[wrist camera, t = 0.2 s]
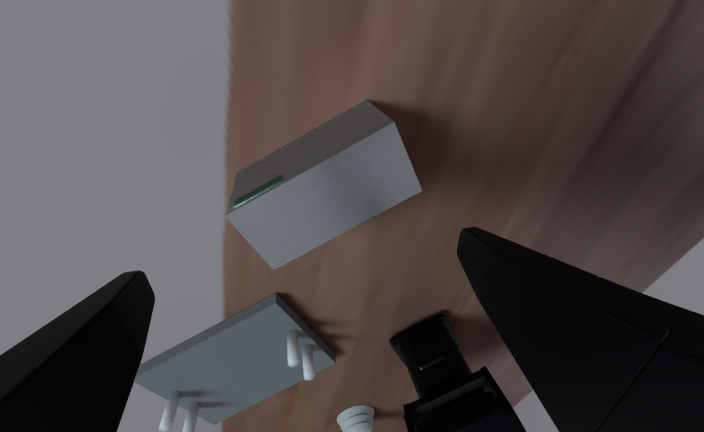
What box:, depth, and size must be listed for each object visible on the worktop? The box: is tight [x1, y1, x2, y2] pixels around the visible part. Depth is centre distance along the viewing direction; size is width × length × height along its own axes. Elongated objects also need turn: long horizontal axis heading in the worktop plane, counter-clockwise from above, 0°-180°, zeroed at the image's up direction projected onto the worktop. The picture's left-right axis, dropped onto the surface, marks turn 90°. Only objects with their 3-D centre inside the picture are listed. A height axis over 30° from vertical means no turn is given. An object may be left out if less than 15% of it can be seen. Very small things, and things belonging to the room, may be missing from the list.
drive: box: [225, 100, 422, 270], centre depth 20 cm, size 5×10×6 cm, turn 116°
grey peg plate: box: [134, 293, 336, 432], centre depth 29 cm, size 11×15×4 cm
